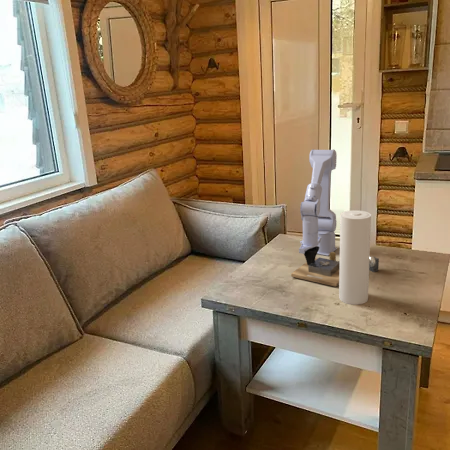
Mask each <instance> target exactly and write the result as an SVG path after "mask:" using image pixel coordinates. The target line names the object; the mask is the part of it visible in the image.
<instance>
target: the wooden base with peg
mask: <svg viewBox="0 0 450 450" xmlns="http://www.w3.org/2000/svg"><path fill="white" fill-rule="evenodd" d="M336 257H337V253H336V252H335V251H334V252H330V255H329V258H328V259H329V260H335V261H337V260H336V259H337V258H336ZM318 258H319V257H318ZM318 258H317V257H315V260H316V259H318ZM339 270H340V269H339ZM339 270H338V271H337V272H336V273H334V274H333V275H332V276H331V277H330V276H325V275H321V274H316V273H312V272H308V265H307V262H306V261H305V263H304V264H302V265H301V266H299V267H298V268H297V269H296V270H294V271H293V272H291V273H290V276H291V277H293V278H297V279H301V280H305V281H309V282H314V283H319V284H322V285H326V286H331V287H338V286H339Z"/></svg>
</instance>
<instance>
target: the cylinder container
mask: <svg viewBox="0 0 450 450" xmlns="http://www.w3.org/2000/svg"><path fill="white" fill-rule="evenodd" d="M339 216H340V217H339V219H340V221H339V222H340V223H339V261H340V270H339V285H338V286H339V287H338V297H339V300H340V301H341V302H343V303H345V304H348V305H353V306H354V305H362V304H365V303H367V302H368V300H369V280H370V279H369V276H370V270H369V257H370V256H371V255H370V252H371V230H372V228H371V227H372V225H371V224H372V213H370V212H368V211H365V210H355V209H354V210H346V211H342V212H340V215H339Z"/></svg>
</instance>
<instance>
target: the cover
mask: <svg viewBox="0 0 450 450" xmlns="http://www.w3.org/2000/svg"><path fill="white" fill-rule="evenodd" d="M339 269H340V260H336V261H335V260H329V258H323V257H318V259H316V260H315V261H314V262H312V263H311V264H310V265H308V272H312V273H316V274H321V275H325V276H330V277H331V276H332V275H333V274H334V273H336V272H337V271H338V270H339Z"/></svg>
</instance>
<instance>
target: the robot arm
mask: <svg viewBox="0 0 450 450" xmlns="http://www.w3.org/2000/svg"><path fill="white" fill-rule="evenodd" d="M337 155H338V154H337V151H336V150H335V148H334V149H315V148H313V149H311V150H310V152H309V158H308V160H309V161H308V162H309V164H310V167H311V168H312V172H311V180H310V183H308V184H307V187H306V191H305V194H304V200H303V201H301V202H300V207H299V208H300V211H299V212H300V217H301V221H302V240H300V241H299V243H300V247H299V248H298V253H299V254H303V255H304V258H305V263H306V262H307V265H310V264H311V263H312V262H314V261H315V258H317V255H322V256H327V257H328V256H330V252H335V251H336V250H338V247H336V229H337V214H336V212H334V211H333V210H331V209H330V205H331V204H330V202H331V177H332V172H333V170H336V167H337Z"/></svg>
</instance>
